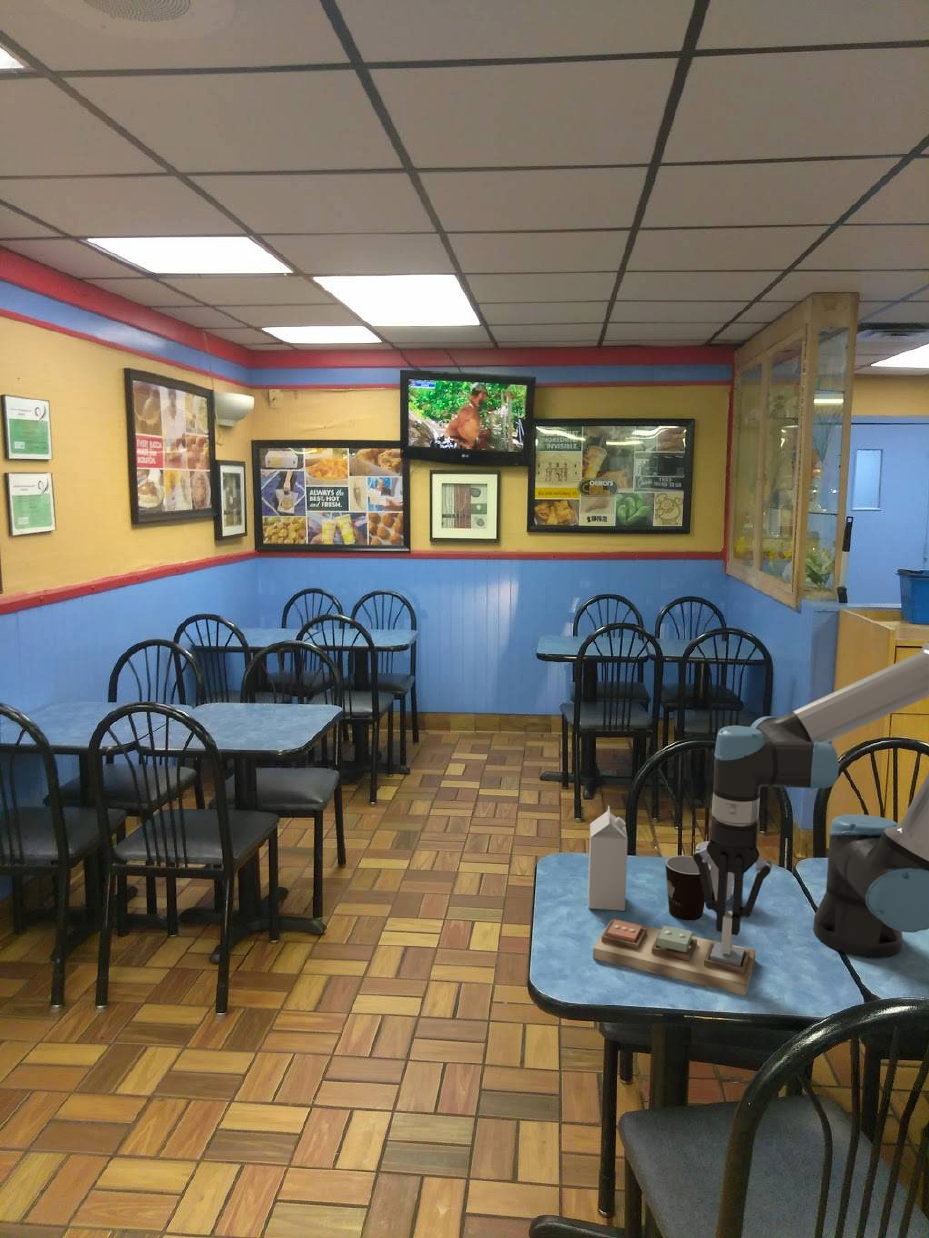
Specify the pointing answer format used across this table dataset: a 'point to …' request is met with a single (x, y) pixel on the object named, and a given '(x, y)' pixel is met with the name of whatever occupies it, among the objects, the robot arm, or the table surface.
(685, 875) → the coffee mug
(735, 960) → the key one dot
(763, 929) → the table surface
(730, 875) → the white cup
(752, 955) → the keypad board
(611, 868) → the milk carton
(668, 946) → the key two dots
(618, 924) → the key three dots
